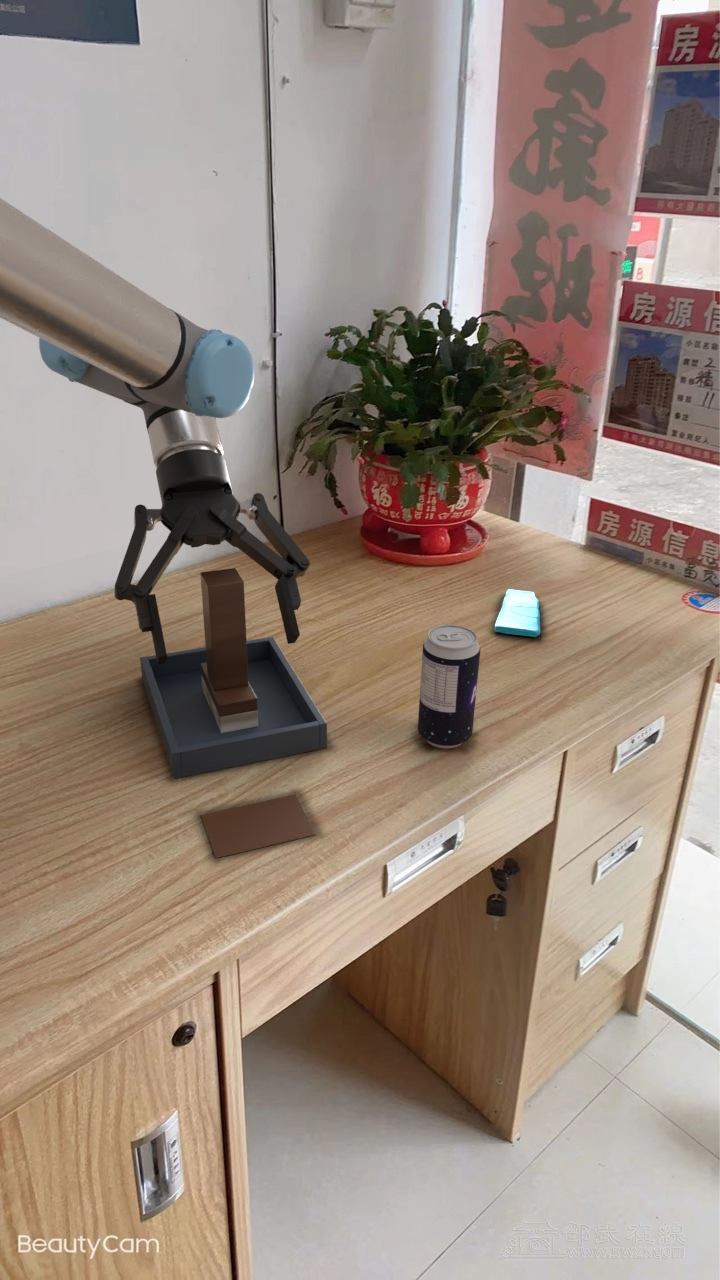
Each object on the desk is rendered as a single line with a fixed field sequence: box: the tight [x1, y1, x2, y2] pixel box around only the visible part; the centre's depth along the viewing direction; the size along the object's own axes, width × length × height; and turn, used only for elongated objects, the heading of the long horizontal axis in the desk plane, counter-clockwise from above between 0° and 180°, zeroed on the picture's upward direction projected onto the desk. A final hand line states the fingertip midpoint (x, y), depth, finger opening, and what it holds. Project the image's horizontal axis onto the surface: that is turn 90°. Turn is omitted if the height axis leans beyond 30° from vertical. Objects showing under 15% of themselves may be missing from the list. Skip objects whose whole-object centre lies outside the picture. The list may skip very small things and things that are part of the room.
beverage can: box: [417, 624, 481, 749], centre depth 89 cm, size 6×6×12 cm
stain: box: [200, 793, 317, 859], centre depth 79 cm, size 9×6×1 cm, turn 111°
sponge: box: [494, 588, 541, 638], centre depth 117 cm, size 2×12×6 cm
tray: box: [139, 636, 328, 780], centre depth 95 cm, size 16×20×3 cm
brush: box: [199, 567, 258, 733], centre depth 92 cm, size 9×4×16 cm, turn 21°
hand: (229, 650), depth 89 cm, fingers open, 13 cm apart
